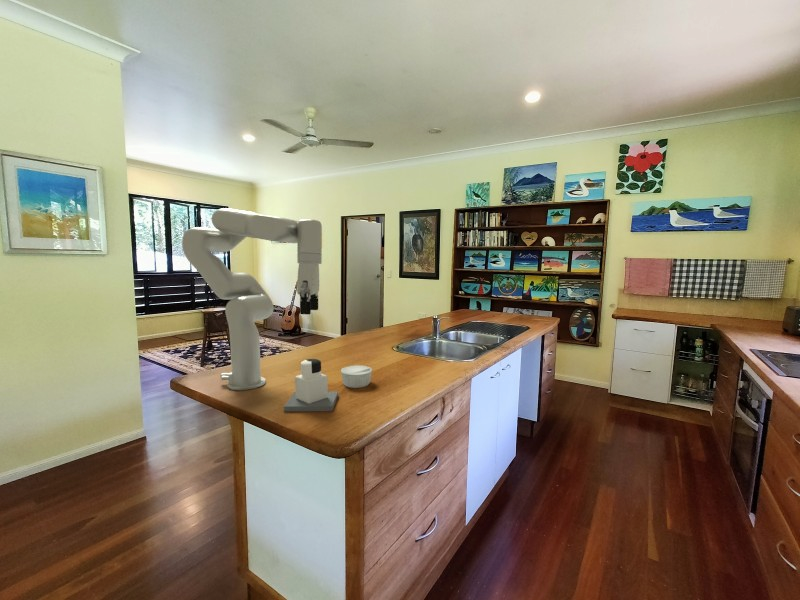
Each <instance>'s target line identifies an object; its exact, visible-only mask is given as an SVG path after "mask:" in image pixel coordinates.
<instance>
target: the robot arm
mask: <svg viewBox="0 0 800 600" xmlns="http://www.w3.org/2000/svg"><path fill="white" fill-rule="evenodd" d="M211 223H212V226H213V227H214V228H213V227H212V228H211V227H204V226H200V227H199V226H198V227H197V226H196V227H192V228H189V229H187V230H186V231H185V232H184V233H183V235H182V239H181V247H182V251H183V254H184V255H185V257H186V260H187V261H188V262H189V263H190V264H191V265H192V266H193V268H194V269H196V271H197V272H198V273H199V274H200V275H201V277H202V278H203V280H204V281H205V282H206V284H207V285H208V286H209V287H210V289H211V291H213V294H215V295H216V297H218V298H219V299H221V300H229V301H228V302H227V303H226V305H225V309H224V310H225V316H226V317H225V318H226V320H227V321H226V322H227V325H228V330H229V343H230V344H229V345H230V366H231V367H230V369H231V372H229V373H228V372H222V373H221V374H220V381H228V382H227V384H226V385H227V388H228V389H230V390H233V391H246V390H253V389H256V388H260V387H262V386H264V385H265V384H266V382H267V381H266V379H267V378H265V377H263V376H262V369H261V367H262V366H261V344H260V343H261V342H260V332H259V330H258V327H257V325H256V324H255V322H258V321H262V320H266V319H268V318H270V317H271V316H272V315H273V312H274V303H273V300H272V299H271V297H270V296H269V294H268V293H267V292H266V291H265V289H264V288H263V286H262V285H261V284H260V283H259V282H258V280H257V279H256V278H255V277H254V276H252V275H251V274H249V273H247V272H234V271H231V270H230V269H229V268H228V267H227V266H226V264H225V262H223V260H222V259H221V258H219V257H218V256H216V255H214V254H213V253H227V252H230V251H232V250H233V249H235V248H236V247H237V246H238V245H240V243H241V242H243V240H245V239H246V238H251V239H259V240H265V241H270V242H277V243H286V244H297V248H296V249H297V255H296V256H297V257H296V258H297V260H296V261H297V264H298V267H297V268H298V269H297V284H296V285H297V286H296V291H297V292H296V293H297V294H298V295H299V314H300V315H311V313H312V312H311V311H318V310H319V291H320V265H322V263H323V260H322V257H323V254H322V253H323V252H322V247H323V246H322V242H323V239H322V236H323V227H322V226H323V225H322V222H321V221H320V220H316V219H309V218H308V219H305V218H304V219H300V220H295V219H290V218H285V217H280V216H273V215H266V214H259V213H258V212H254V211H248V210H247V211H246V210H240V209H234V208H227V207H225V208H224V207H223V208H219V209H216V210H215V211H214V212H213V213H212V215H211Z"/></svg>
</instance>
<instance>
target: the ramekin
mask: <svg viewBox="0 0 800 600" xmlns="http://www.w3.org/2000/svg"><path fill="white" fill-rule="evenodd" d="M372 373H373V368H372V367H369V366H368V365H361V364H360V365H359V364H358V365H350V366H349V365H348V366H345V367H343V368H341V369H340V374H341V379H342V384H343V385H344V386H345V387H347V388H351V389H359V388H360V389H361V388H364V387H367V386H369V384H370V383H371V380H372Z"/></svg>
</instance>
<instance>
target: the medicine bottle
mask: <svg viewBox="0 0 800 600" xmlns="http://www.w3.org/2000/svg"><path fill="white" fill-rule="evenodd" d="M294 384H295V388H294V389H295V391H294V392H296V399H299V400H301V401H303V402H306V403H308V404H311V403H314V402H316V401H319V400H322V399H325V398H327V397H328V392H329V391H328V390H329V389H328V385H329V384H328V375H327V374H323V373H322V361H321V360H320V359H318V358H306V359H304V360H302V361H301V362H300V374H298V375H296V376H295V377H294Z"/></svg>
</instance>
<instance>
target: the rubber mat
mask: <svg viewBox="0 0 800 600" xmlns="http://www.w3.org/2000/svg"><path fill="white" fill-rule="evenodd" d="M338 397H339V391H337V390H336V391H328V397H327V398H325V399H322V400H319V401H316V402H314V403H311V404H308V403H306V402H303V401H301V400H299V399H296V391H294V392H293V394H292V395H291V396H290V398H289V399H288V400H287V402H286V403H285V404H284V406H283V412H285V413H286V412H332V411H333V410H334V408H335V405H336V403H337V400H338Z"/></svg>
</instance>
